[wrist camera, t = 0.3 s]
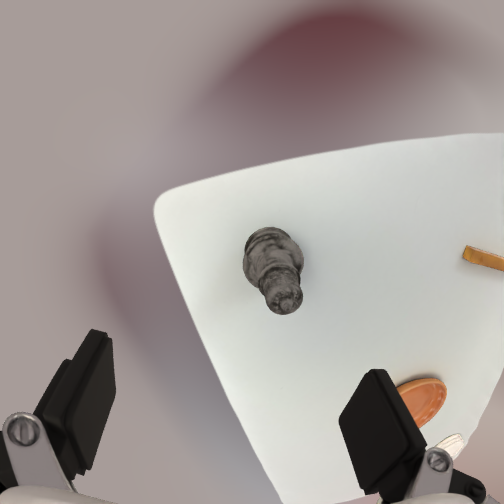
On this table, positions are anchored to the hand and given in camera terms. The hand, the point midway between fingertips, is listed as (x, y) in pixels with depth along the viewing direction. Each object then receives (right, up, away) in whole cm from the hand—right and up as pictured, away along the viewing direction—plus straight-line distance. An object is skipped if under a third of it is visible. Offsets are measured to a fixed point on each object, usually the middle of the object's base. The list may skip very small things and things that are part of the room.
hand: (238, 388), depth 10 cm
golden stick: (+37, +4, +25) cm, 45 cm away
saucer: (+28, -22, +35) cm, 50 cm away
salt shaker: (+2, +5, +23) cm, 23 cm away
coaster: (+52, -47, +46) cm, 83 cm away
